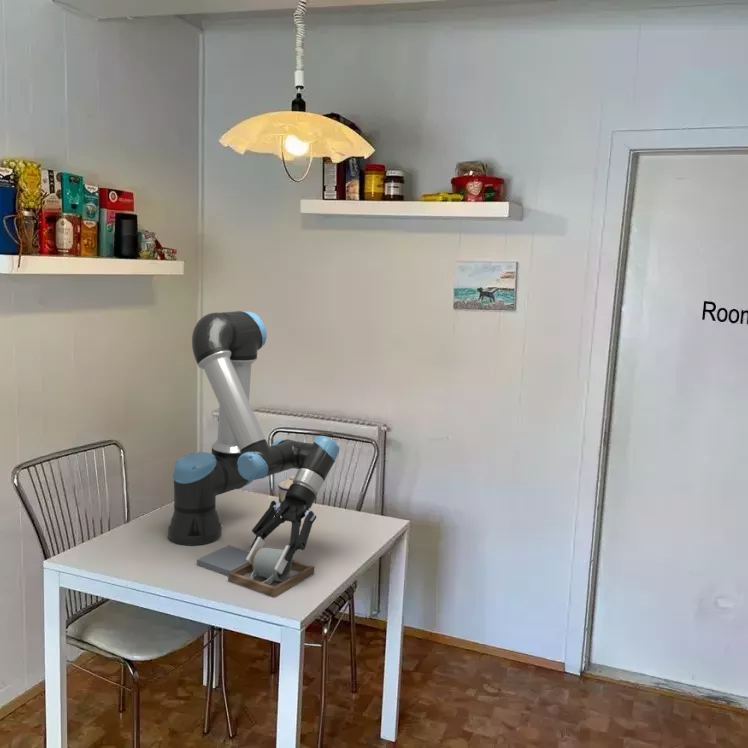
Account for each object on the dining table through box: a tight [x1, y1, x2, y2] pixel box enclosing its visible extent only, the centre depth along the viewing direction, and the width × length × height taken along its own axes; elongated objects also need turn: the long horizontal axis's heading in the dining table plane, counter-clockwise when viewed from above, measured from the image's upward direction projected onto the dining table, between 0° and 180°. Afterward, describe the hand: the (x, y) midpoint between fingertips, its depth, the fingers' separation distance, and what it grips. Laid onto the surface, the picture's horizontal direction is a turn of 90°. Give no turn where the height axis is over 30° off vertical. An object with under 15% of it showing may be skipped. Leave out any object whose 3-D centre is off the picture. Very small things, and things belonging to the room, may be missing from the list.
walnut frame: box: [227, 559, 315, 598], centre depth 185 cm, size 15×16×2 cm
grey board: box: [196, 544, 250, 577], centre depth 193 cm, size 12×12×2 cm
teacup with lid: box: [278, 475, 296, 510], centre depth 231 cm, size 12×9×12 cm
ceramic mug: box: [250, 547, 293, 585], centre depth 183 cm, size 11×8×8 cm
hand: (263, 566), depth 182 cm, fingers closed on ceramic mug, 8 cm apart
